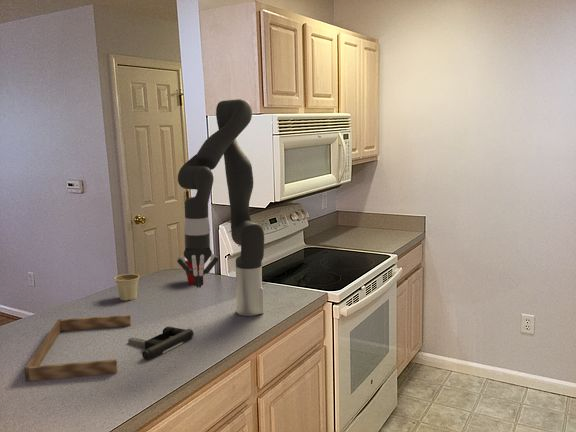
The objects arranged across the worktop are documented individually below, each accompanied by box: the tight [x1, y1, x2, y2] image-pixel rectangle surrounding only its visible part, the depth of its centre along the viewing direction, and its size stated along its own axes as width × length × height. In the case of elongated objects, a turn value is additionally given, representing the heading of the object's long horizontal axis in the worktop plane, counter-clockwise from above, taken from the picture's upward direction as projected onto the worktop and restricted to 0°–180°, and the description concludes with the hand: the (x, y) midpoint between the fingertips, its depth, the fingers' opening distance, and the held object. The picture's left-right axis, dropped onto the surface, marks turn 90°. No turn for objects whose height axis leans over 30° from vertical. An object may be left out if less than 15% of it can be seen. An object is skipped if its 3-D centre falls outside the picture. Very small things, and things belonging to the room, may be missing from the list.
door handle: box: [127, 326, 194, 360], centre depth 158 cm, size 3×20×16 cm
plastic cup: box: [185, 258, 205, 285], centre depth 220 cm, size 11×11×12 cm
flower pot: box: [114, 273, 140, 301], centre depth 200 cm, size 9×9×9 cm
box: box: [24, 314, 132, 382], centre depth 154 cm, size 23×36×4 cm, turn 11°
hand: (198, 286), depth 158 cm, fingers closed
